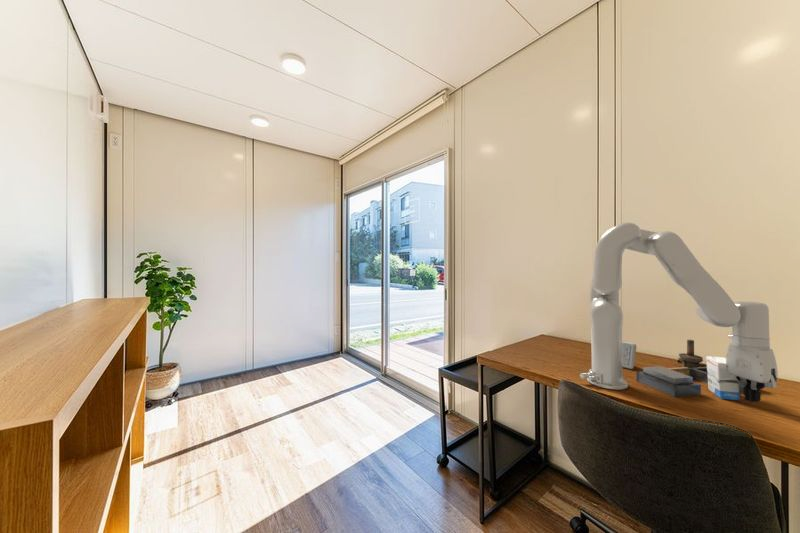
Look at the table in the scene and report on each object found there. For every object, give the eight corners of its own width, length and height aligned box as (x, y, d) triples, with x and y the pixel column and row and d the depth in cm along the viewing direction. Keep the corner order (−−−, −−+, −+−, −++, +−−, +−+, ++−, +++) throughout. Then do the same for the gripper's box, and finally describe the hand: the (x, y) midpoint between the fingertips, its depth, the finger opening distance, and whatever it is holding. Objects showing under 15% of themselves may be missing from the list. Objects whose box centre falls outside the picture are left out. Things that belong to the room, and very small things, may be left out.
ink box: (740, 401, 96) (738, 364, 96) (719, 398, 98) (717, 363, 98) (726, 390, 103) (724, 356, 103) (707, 388, 105) (705, 355, 105)
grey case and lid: (674, 397, 100) (674, 380, 99) (636, 380, 113) (636, 366, 113) (758, 390, 104) (758, 374, 103) (711, 375, 117) (711, 361, 117)
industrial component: (679, 369, 125) (679, 340, 125) (676, 364, 131) (676, 337, 130) (711, 373, 119) (711, 343, 119) (706, 368, 125) (706, 339, 125)
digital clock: (589, 360, 138) (589, 337, 138) (602, 357, 142) (602, 335, 142) (627, 371, 123) (627, 346, 123) (641, 368, 127) (640, 343, 127)
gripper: (712, 336, 100) (713, 391, 100) (772, 349, 85) (774, 413, 85) (731, 335, 101) (733, 390, 101) (795, 347, 86) (796, 411, 86)
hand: (752, 400), depth 93 cm, fingers closed
